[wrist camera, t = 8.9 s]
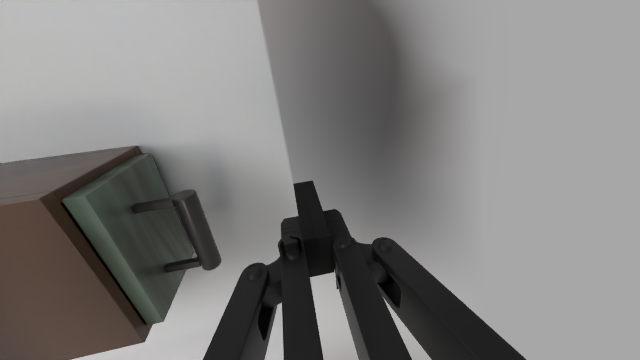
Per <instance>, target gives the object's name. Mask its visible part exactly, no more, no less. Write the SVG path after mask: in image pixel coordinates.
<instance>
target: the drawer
mask: <svg viewBox="0 0 640 360" xmlns="http://www.w3.org/2000/svg"><path fill="white" fill-rule="evenodd" d="M62 201H63V202H62V203H60V204H61V205H62V206H63V208H64V209H65V211H66V212H67V214H68V215H69V217H70V218H71V219H72V221H73V222H74V224H75V225H76V227H77V228H78V229H79V231H80V232H81V234H82V235H83V237H84V238H85V240H86V241H87V242H88V244H89V245H90V247H91V248H92V250H93V251H94V252H95V254H96V255H97V257H98V258H99V260H100V261H101V263H102V264H103V265H104V267H105V268H106V270H107V271H108V273H109V274H110V276H111V277H112V278H113V280H114V281H115V283H116V284H117V286H118V287H119V288H120V290H121V291H122V293H123V294H124V296H125V297H126V299H127V300H128V301H129V303H130V304H131V306H132V307H133V308H134V307H135V308H136V309H137V311H138V312H139V313H140V315H141V316H142V318H143V319H144V321H145V322H146V324H147V325H151V324H155V323H159V322H163V321H164V319H165V317H166V315H167V313H168V310H169V308H170V306H171V303H172V301H173V299H174V297H175V294H176V292H177V290H178V287H179V285H180V283H181V281H182V278H183V276H184V274H185V271H186V269H189V268H194V267H199V266H202V268H203V269H204V270H207V271H208V270H212V269H215V268H216V267H218V266H219V265H220V263H221V257H220V254H219V251H218V249H217V246H216V243H215V241H214V238H213V235H212V233H211V230H210V227H209V225H208V222H207V219H206V217H205V214H204V211H203V209H202V206H201V203H200V201H199V198H198V195H197V193H196V191H195V190H185V191H181V192H179V193H177V194H175V195H174V196H173V197H172V198H170V197H169V194H168V192H167V190H166V188H165V185H164V183H163V181H162V179H161V176H160V174H159V172H158V169H157V167H156V165H155V163H154V160H153V158H152V156H151V154H150V153H147V154H140V155H135V156H133V157H132V158H130V159H128V160H127V161H125V162H124V163H122V164H120V165H119V166H117V167H115V168H114V169H112V170H110V171H109V172H107V173H105V174H104V175H102V176H100V177H99V178H97V179H95V180H94V181H92V182H90V183H89V184H87V185H85V186H84V187H82V188H80V189H79V190H77V191H75V192H74V193H72V194H70V195H69V196H67V197H65V198H64V199H62ZM174 207H176V209H177V211H178V214H179V216H180V218H181V220H182V223H183V225H184V227H185V230H186V232H187V234H188V237H189V239H190V241H191V243H192V246H193V248H194V250H195V253H196V255H197V257H196V258H192V255H193V253H194V251H193V249H192V247H191V244H190V242H189V240H188V238H187V235H186V233H185V231H184V228H183V226H182V224H181V222H180V219H179V217H178V215H177V213H176V210H175V208H174Z"/></svg>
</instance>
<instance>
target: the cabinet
mask: <svg viewBox="0 0 640 360" xmlns="http://www.w3.org/2000/svg"><path fill="white" fill-rule="evenodd" d="M140 154H141V152H140V150H139V147H138V146H130V147H122V148H114V149H107V150H99V151H92V152H84V153H76V154H69V155H61V156H53V157H46V158H38V159H31V160H23V161H15V162H8V163H0V360H71V359H75V358H79V357H83V356H88V355H92V354H96V353H100V352H105V351H109V350H113V349H117V348H122V347H126V346H130V345H134V344H139V343H143V342H145V340H146V338H147V336H148V334H149V331H150V329H151V327H152V325H153V324H151V325H147V324H146V322H145V321H144V319H143V318H142V316H141V315H140V313H139V312H138V311H137V309H136V308H135V307H134V308H133V307H132V306H131V304H130V303H129V301H128V300H127V299H126V297H125V296H124V294H123V293H122V291H121V290H120V288H119V287H118V286H117V284H116V283H115V281H114V280H113V278H112V277H111V276H110V274H109V273H108V271H107V270H106V268H105V267H104V265H103V264H102V263H101V261H100V260H99V258H98V257H97V255H96V254H95V252H94V251H93V250H92V248H91V247H90V245H89V244H88V242H87V241H86V240H85V238H84V237H83V235H82V234H81V232H80V231H79V229H78V228H77V227H76V225H75V224H74V222H73V221H72V219H71V218H70V217H69V215H68V214H67V212H66V211H65V209H64V208H63V206H62V205H61V204H60V203H62V202H63V201H62V199H64V198H65V197H67V196H69V195H70V194H72V193H74V192H75V191H77V190H79V189H80V188H82V187H84V186H85V185H87V184H89V183H90V182H92V181H94V180H95V179H97V178H99V177H100V176H102V175H104V174H105V173H107V172H109V171H110V170H112V169H114V168H115V167H117V166H119V165H120V164H122V163H124V162H125V161H127V160H128V159H130V158H132V157H133V156H135V155H140Z"/></svg>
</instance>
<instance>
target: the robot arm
mask: <svg viewBox="0 0 640 360" xmlns="http://www.w3.org/2000/svg"><path fill="white" fill-rule="evenodd" d="M294 190H295V197H296V203H297V209H298V215H299V216H297V217H292V218H286V219H284V220H283V221H282V223H281V240H280V241H279V243H278V248H279V252H280V257H279V258H278V259H277V260H276V261H275V262H273V263H271V264H269V265H267V266H266V265H265V264H263V263H254V264H251V265H249V266H248V267H246V268H245V269H244V271H243V272H242V274H241V276H240V278H239V280H238V282H237V285H236V287H235V289H234V291H233V294H232V296H231V298H230V300H229V303H228V305H227V307H226V309H225V312H224V314H223V316H222V318H221V320H220V323H219V325H218V327H217V329H216V332H215V334H214V336H213V338H212V341H211V343H210V345H209V347H208V350H207V352H206V354H205V356H204V358H203V360H264V359H265V355H266V351H267V346H268V342H269V338H270V334H271V330H272V326H273V322H274V317H275V313H276V309H277V305H278V304H280V303H281V302H282V315H283V346H284V360H323V354H322V348H321V342H320V337H319V331H318V325H317V319H316V313H315V307H314V301H313V295H312V289H311V283H310V277H313V276H318V275H323V274H327V273H332V272H334V270H335V273H336V284H337V289H339V292H340V295H341V298H342V302H343V305H344V309H345V313H346V316H347V319H348V323H349V327H350V330H351V334H352V337H353V341H354V344H355V348H356V351H357V355H358V358H359V360H412V359H411V357H410V355H409V352H408V350H407V348H406V346H405V344H404V342H403V340H402V338H401V335H400V333H399V331H398V329H397V327H396V325H395V323H394V321H393V318H392V316H391V314H390V312H389V310H388V308H387V306H386V303H385V301H384V299H385V300H386V301H387V303H388V304H389V305H390V306H391V308H392V309H393V310H394V312H395V313H396V314H397V316H398V317H399V318H400V319H401V321H402V322H403V323H404V324H405V326H406V327H407V328H408V330H409V331H410V332H411V334H412V335H413V336H414V337H415V339H416V340H417V341H418V342H419V344H420V345H421V346H422V348H423V349H424V350H425V351H426V353H427V354H428V355H429V357H430V358H431V359H432V360H526V359H525V358H524V357H523V356H522V355H521V354H519V353H518V352H517V351H516V350H515V349H514V348H513V347H512V346H511V345H509V344H508V343H507V342H506V341H505V340H504V339H503V338H502V337H501V336H499V335H498V334H497V333H496V332H495V331H494V330H493V329H492V328H490V327H489V326H488V325H487V324H486V323H485V322H484V321H483V320H482V319H481V318H479V317H478V316H477V315H476V314H475V313H474V312H473V311H472V310H471V309H469V308H468V307H467V306H466V305H465V304H464V303H463V302H462V301H461V300H459V299H458V298H457V297H456V296H455V295H454V294H453V293H452V292H451V291H449V290H448V289H447V288H446V287H445V286H444V285H443V284H442V283H440V282H439V281H438V280H437V279H436V278H435V277H434V276H433V275H431V274H430V273H429V272H428V271H427V270H426V269H425V268H423V266H422V265H420V264H419V263H418V262H417V261H416V260H415V259H414V258H413V257H412V256H410V255H409V254H408V253H407V252H406V251H405V250H404V249H403V248H401V247H400V246H399V245H398V244H397V243H396V242H395V241H393V240H392V239H389V238H384V237H381V238H377V239H375V240H374V241H373V243H372V244H362V243H358V242H356V240H355V239H354V238H352V237H351V236H350V233H349V231H348V228H347V226H346V224H345V222H344V220H343V218H342V215H341V213H340V212H339V211H337V210H336V209H333V210H328V211H323V210H322V207H321V204H320V201H319V198H318V195H317V192H316V189H315V186H314V183H313V181H307V182H302V183H296V184H294ZM382 296H383V297H382ZM383 298H384V299H383Z"/></svg>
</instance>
